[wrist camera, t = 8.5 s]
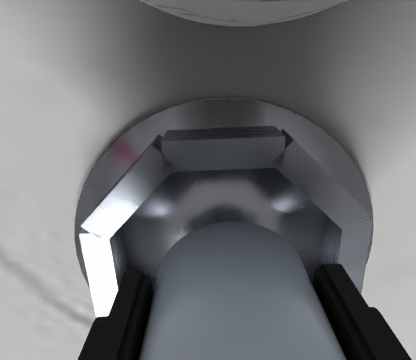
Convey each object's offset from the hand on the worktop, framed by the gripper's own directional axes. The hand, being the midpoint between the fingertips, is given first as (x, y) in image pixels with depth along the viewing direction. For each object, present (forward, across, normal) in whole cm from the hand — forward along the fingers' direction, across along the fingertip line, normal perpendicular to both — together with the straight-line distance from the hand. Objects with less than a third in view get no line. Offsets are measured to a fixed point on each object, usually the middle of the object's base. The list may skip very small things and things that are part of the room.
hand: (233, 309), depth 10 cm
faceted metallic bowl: (+4, 0, 0) cm, 4 cm away
